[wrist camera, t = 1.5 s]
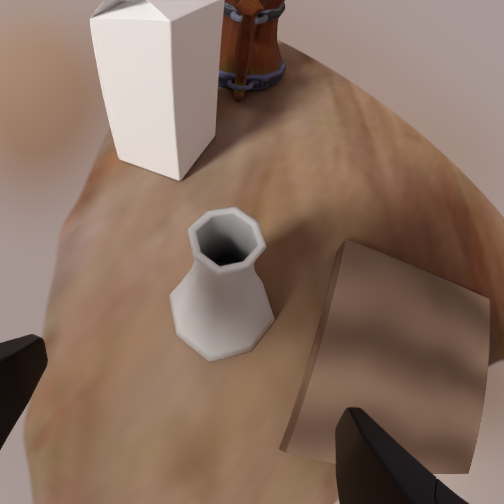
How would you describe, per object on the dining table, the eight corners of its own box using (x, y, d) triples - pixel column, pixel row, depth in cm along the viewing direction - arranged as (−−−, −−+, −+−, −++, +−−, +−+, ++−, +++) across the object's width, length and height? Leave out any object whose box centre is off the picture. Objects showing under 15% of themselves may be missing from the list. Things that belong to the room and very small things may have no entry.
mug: (287, 129, 32) (319, 3, 19) (181, 118, 31) (180, -10, 18) (282, 60, 41) (300, -26, 28) (207, 52, 40) (212, -35, 27)
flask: (152, 293, 22) (116, 213, 13) (235, 248, 24) (249, 154, 16) (205, 380, 19) (197, 357, 11) (291, 324, 22) (343, 262, 13)
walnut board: (453, 472, 17) (468, 473, 15) (279, 448, 18) (285, 452, 16) (476, 306, 24) (489, 299, 22) (337, 251, 25) (345, 238, 23)
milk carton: (215, 136, 30) (230, -48, 14) (180, 183, 27) (172, -38, 10) (158, 119, 31) (149, -48, 14) (118, 161, 27) (83, -29, 11)
